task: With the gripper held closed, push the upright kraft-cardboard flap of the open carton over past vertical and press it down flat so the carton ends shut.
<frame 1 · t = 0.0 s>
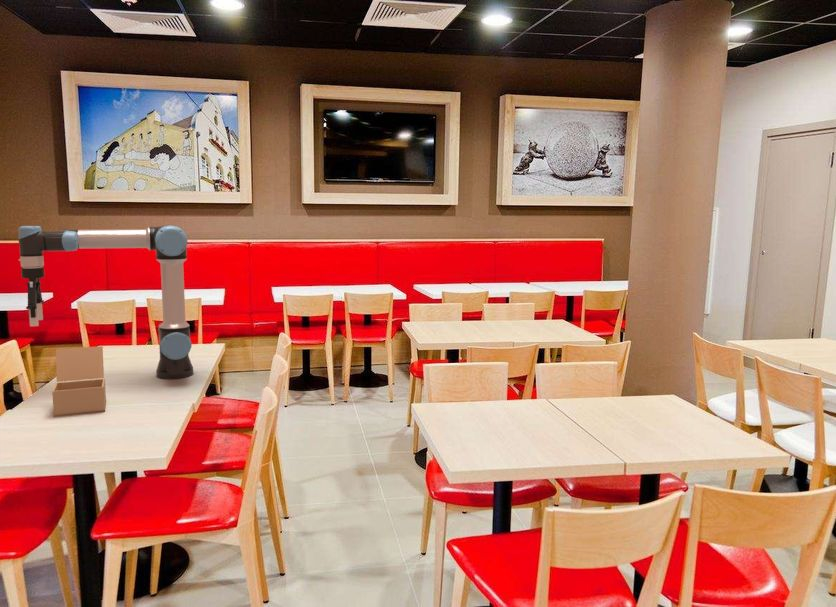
hand: (36, 323, 253), 28 cm above the table, fingers open, 13 cm apart
carton: (81, 409, 239), on the table
lid: (80, 363, 244), point 15 cm above the table, hinge at 110.0°
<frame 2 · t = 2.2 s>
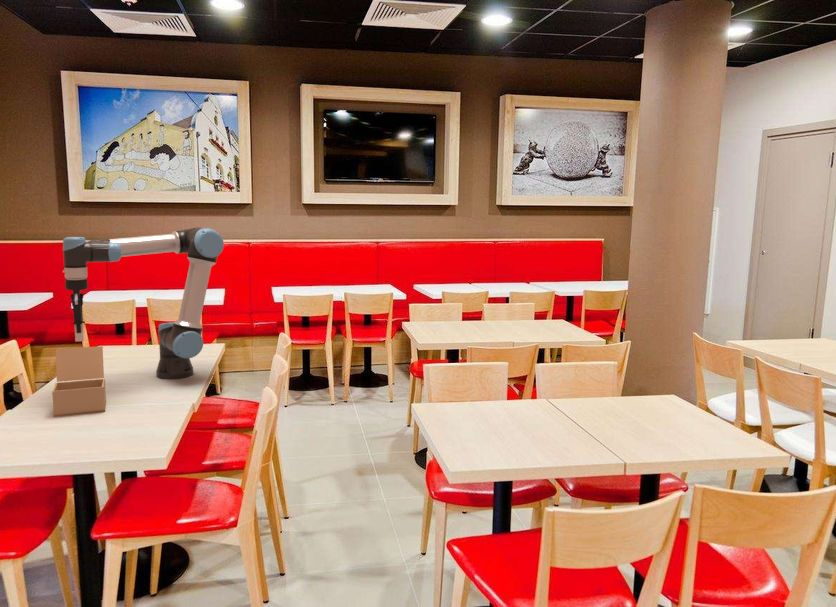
hand: (79, 340, 251), 22 cm above the table, fingers closed
nothing on the table moved.
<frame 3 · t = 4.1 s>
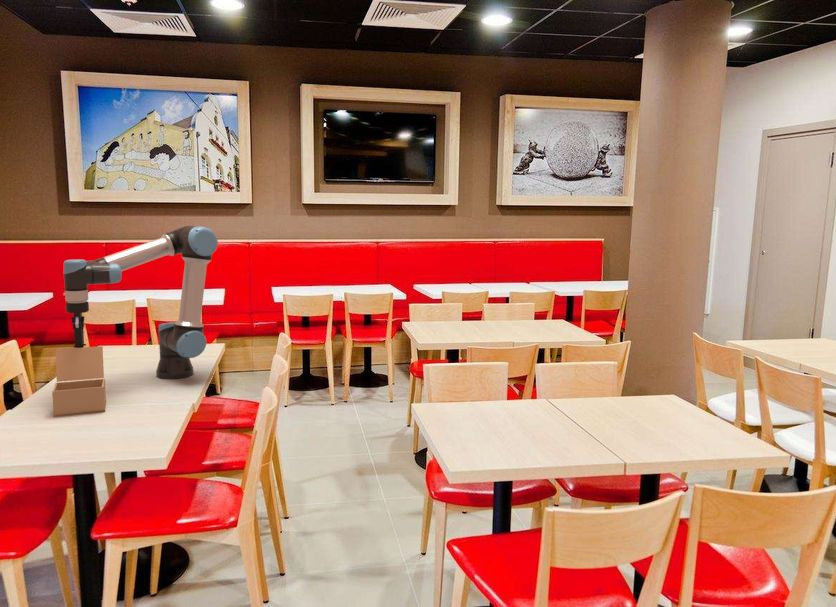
hand: (80, 363, 249), 14 cm above the table, fingers closed
lid: (80, 363, 244), point 15 cm above the table, hinge at 109.8°, touching gripper
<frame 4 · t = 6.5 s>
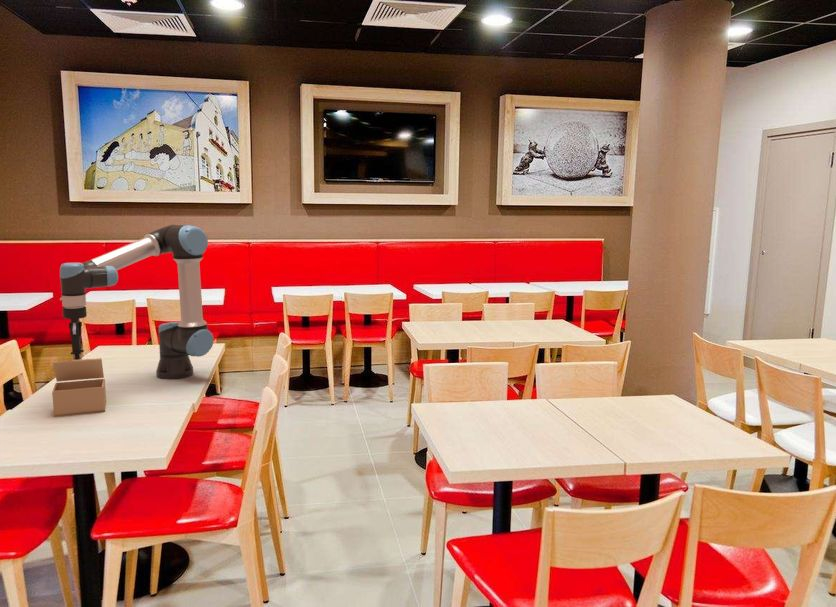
hand: (78, 370, 241), 13 cm above the table, fingers closed
lid: (79, 369, 239), point 14 cm above the table, hinge at 47.9°, touching gripper
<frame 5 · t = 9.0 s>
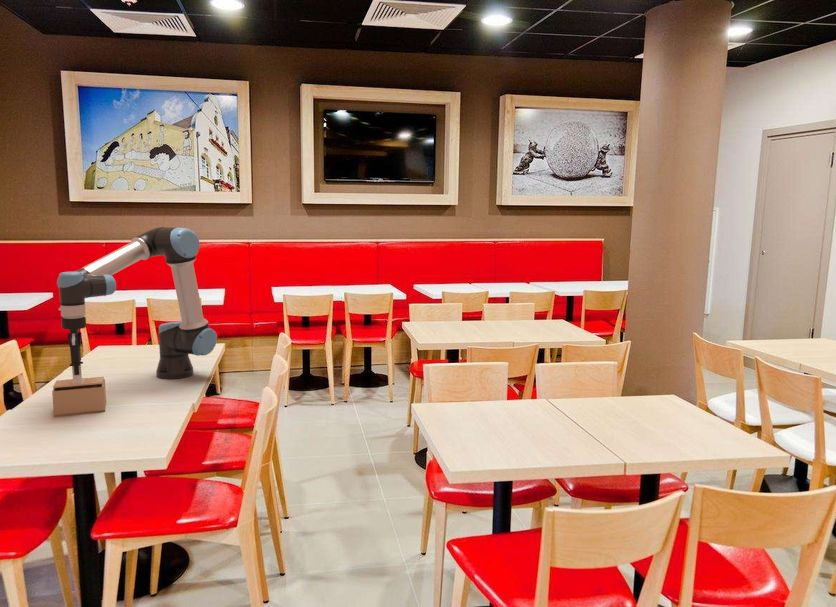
hand: (77, 383, 233), 11 cm above the table, fingers closed
lid: (79, 381, 237), point 10 cm above the table, hinge at 4.1°, touching gripper
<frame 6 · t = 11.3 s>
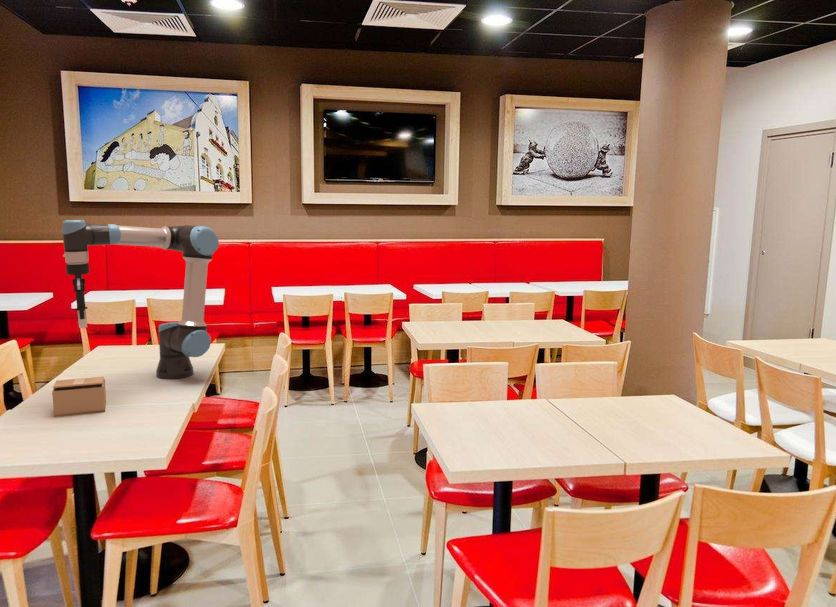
hand: (83, 327, 244), 28 cm above the table, fingers closed
lid: (79, 381, 237), point 10 cm above the table, hinge at 4.0°
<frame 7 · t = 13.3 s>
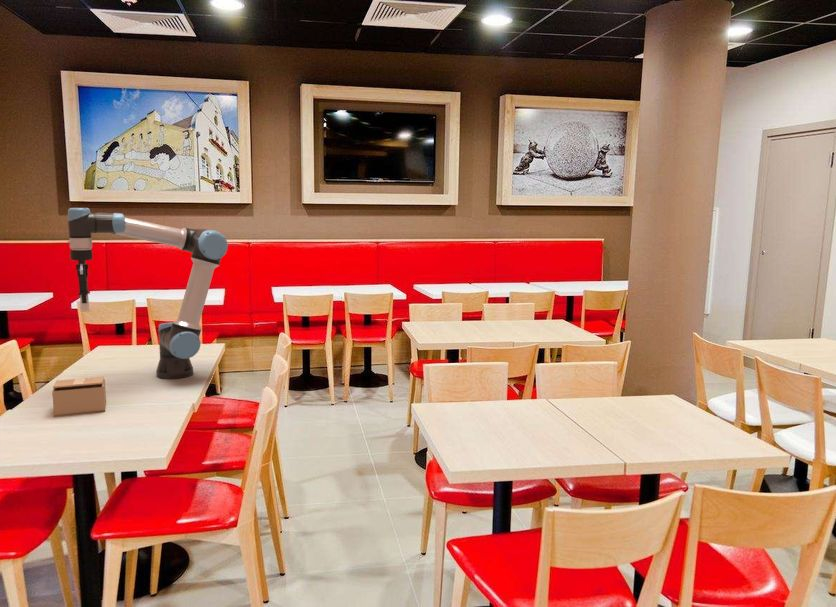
hand: (85, 311, 253), 32 cm above the table, fingers closed
nothing on the table moved.
at the end: lid at +4° (first picture: +110°) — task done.
